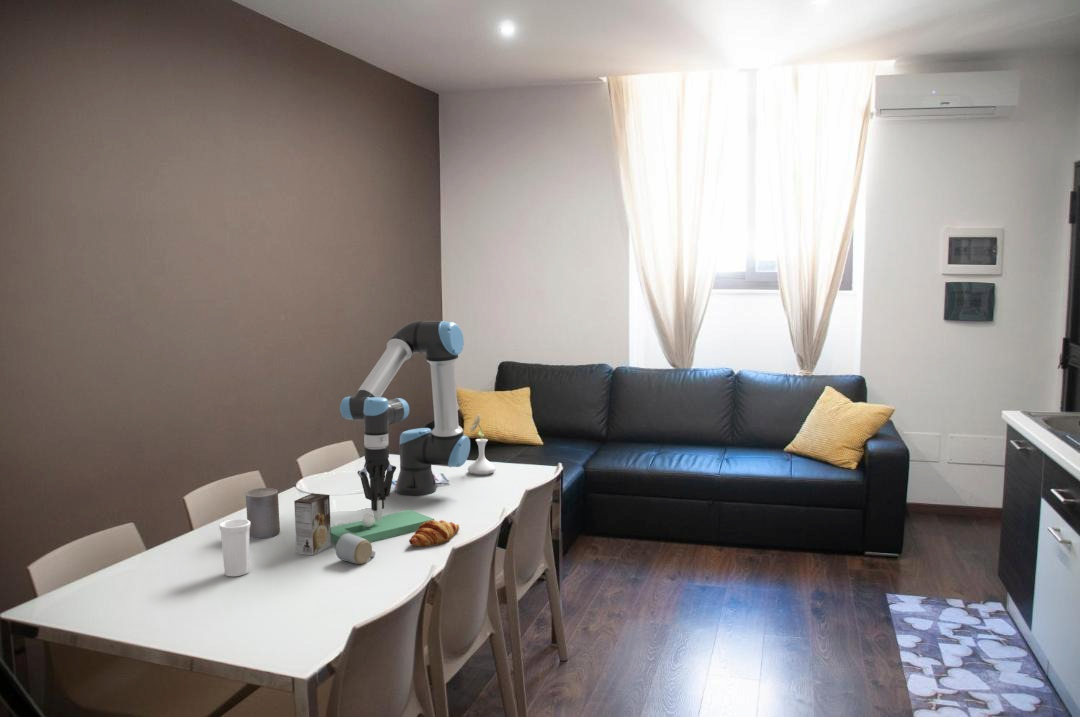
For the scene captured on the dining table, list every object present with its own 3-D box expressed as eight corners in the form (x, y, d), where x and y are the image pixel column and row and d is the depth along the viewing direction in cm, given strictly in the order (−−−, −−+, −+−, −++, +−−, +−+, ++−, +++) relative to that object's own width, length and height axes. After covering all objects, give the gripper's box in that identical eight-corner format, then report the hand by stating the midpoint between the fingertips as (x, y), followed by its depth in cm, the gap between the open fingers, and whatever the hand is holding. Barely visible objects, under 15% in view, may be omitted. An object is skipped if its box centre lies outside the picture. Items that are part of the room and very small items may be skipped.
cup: (222, 580, 230) (220, 529, 228) (220, 570, 237) (218, 520, 236) (253, 576, 233) (251, 525, 232) (251, 566, 241) (249, 517, 239)
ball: (366, 527, 271) (372, 516, 272) (373, 530, 268) (379, 519, 269) (357, 522, 268) (363, 510, 269) (363, 525, 265) (370, 513, 266)
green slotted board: (410, 516, 288) (410, 509, 288) (434, 526, 277) (434, 519, 277) (323, 536, 267) (323, 529, 266) (346, 548, 256) (345, 540, 256)
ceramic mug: (355, 568, 240) (355, 541, 239) (335, 562, 244) (334, 536, 243) (382, 558, 248) (382, 532, 248) (361, 552, 253) (361, 527, 252)
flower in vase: (471, 469, 354) (470, 409, 351) (498, 470, 352) (497, 410, 349) (463, 477, 341) (463, 415, 338) (491, 478, 339) (491, 416, 336)
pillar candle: (267, 527, 276) (264, 482, 274) (286, 532, 270) (284, 486, 269) (241, 535, 268) (238, 489, 266) (260, 541, 263) (258, 493, 261)
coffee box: (313, 543, 260) (312, 492, 258) (331, 546, 258) (330, 494, 256) (295, 553, 252) (293, 500, 250) (313, 556, 249) (312, 502, 248)
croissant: (451, 540, 274) (443, 517, 276) (473, 531, 269) (464, 507, 270) (404, 557, 257) (395, 532, 259) (426, 548, 252) (417, 522, 253)
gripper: (364, 451, 261) (365, 526, 264) (400, 445, 270) (401, 518, 273) (352, 447, 267) (353, 521, 269) (388, 442, 276) (389, 513, 278)
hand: (377, 519), depth 271 cm, fingers closed
